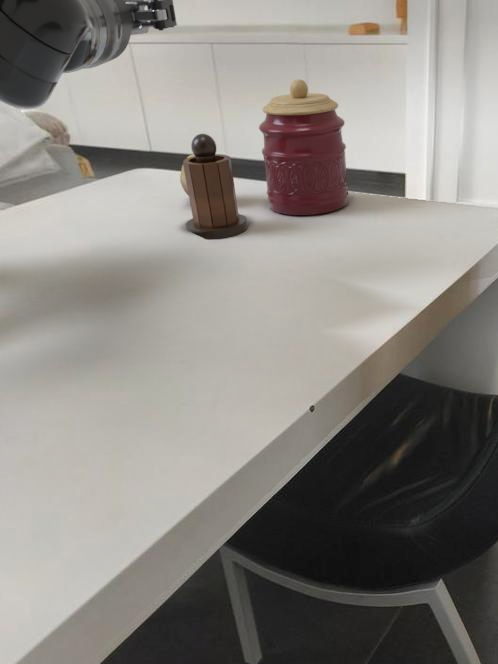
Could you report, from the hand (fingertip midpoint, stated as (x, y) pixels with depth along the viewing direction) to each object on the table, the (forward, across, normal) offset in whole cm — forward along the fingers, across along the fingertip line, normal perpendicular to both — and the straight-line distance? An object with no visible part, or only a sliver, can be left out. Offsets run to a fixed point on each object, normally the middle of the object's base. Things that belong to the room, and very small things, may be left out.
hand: (121, 13), depth 80 cm
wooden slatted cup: (+7, -6, +26) cm, 27 cm away
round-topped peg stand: (+7, -6, +27) cm, 29 cm away
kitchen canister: (+17, -19, +27) cm, 38 cm away
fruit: (+22, -3, +27) cm, 35 cm away
